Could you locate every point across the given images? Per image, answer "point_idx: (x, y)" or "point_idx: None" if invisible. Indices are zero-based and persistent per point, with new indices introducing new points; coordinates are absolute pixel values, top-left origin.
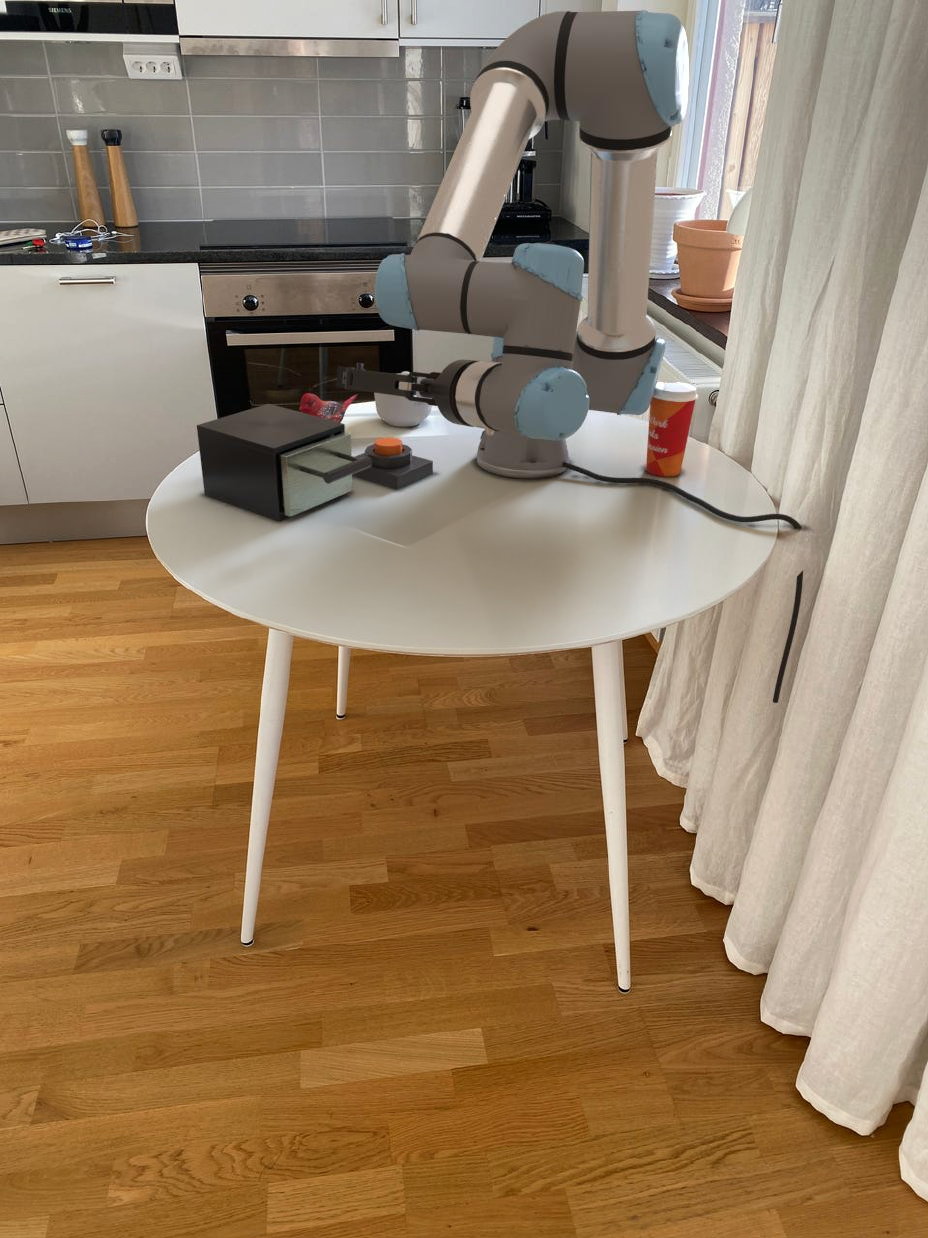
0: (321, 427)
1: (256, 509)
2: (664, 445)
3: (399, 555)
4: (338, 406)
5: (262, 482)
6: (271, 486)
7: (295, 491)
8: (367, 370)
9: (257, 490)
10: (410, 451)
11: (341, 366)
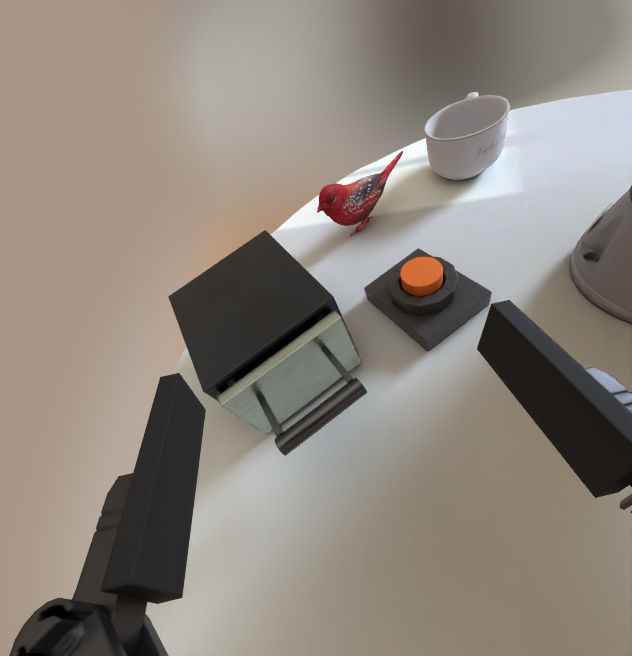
0: (295, 310)
1: None
2: None
3: (390, 631)
4: (374, 182)
5: None
6: None
7: (261, 417)
8: (131, 585)
9: None
10: (455, 284)
11: (154, 399)
